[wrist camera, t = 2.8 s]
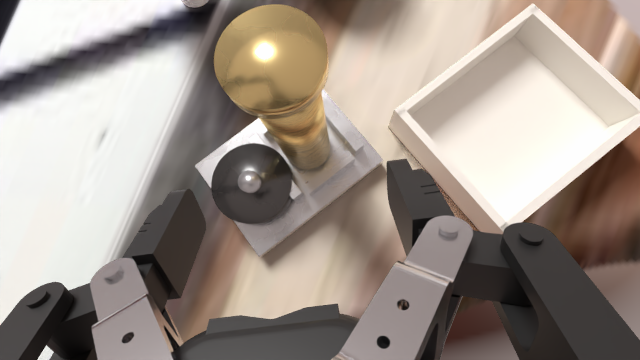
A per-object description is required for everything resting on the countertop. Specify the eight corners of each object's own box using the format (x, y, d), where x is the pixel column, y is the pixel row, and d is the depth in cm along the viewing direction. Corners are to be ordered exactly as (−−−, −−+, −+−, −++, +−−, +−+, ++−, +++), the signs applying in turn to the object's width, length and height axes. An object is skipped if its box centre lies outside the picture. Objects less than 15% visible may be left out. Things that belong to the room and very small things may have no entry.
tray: (483, 235, 25) (506, 234, 21) (388, 126, 27) (394, 109, 23) (612, 131, 25) (654, 113, 22) (509, 32, 27) (533, 3, 24)
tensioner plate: (262, 256, 26) (250, 258, 22) (201, 168, 27) (181, 158, 24) (381, 163, 26) (387, 152, 23) (314, 84, 28) (310, 62, 25)
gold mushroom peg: (301, 187, 25) (256, 132, 12) (267, 143, 26) (192, 49, 13) (348, 151, 25) (351, 61, 13) (312, 109, 26) (282, -16, 14)
